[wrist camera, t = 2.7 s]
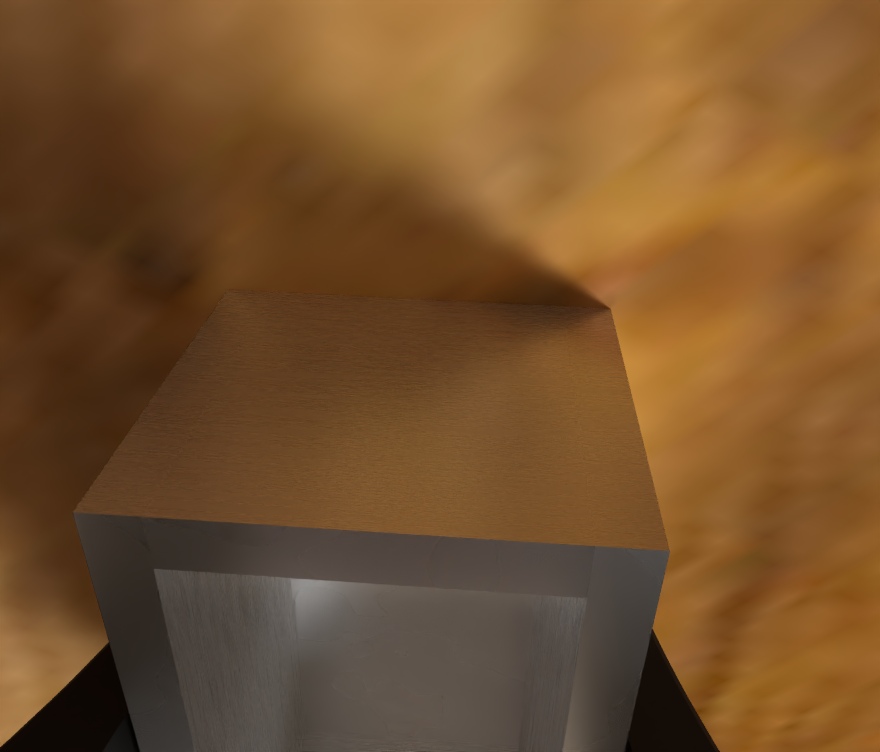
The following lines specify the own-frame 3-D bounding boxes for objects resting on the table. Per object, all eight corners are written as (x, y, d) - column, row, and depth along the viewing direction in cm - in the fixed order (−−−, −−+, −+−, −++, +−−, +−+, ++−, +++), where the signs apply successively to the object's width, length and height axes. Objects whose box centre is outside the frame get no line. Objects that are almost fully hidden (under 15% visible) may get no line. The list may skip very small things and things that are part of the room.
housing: (283, 719, 15) (209, 996, 12) (229, 287, 11) (72, 512, 7) (547, 739, 15) (561, 1029, 11) (610, 306, 10) (670, 551, 7)
